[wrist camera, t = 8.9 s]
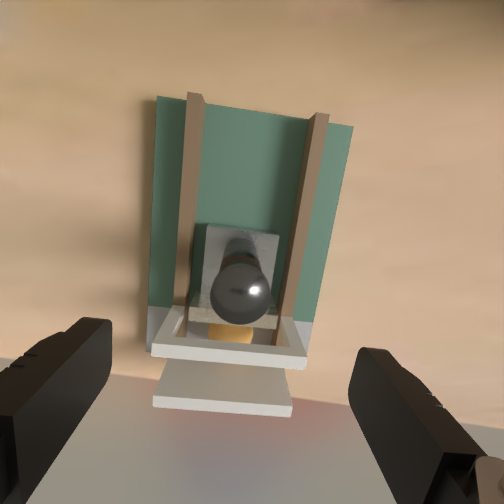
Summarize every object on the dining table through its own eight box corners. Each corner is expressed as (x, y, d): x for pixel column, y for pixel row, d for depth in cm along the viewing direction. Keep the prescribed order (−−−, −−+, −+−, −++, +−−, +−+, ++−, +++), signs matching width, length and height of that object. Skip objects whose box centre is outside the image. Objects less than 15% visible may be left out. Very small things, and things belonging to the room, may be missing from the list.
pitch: (162, 101, 23) (108, 45, 13) (346, 130, 24) (413, 96, 15) (150, 343, 28) (107, 421, 19) (301, 357, 29) (328, 436, 20)
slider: (203, 222, 23) (175, 252, 13) (282, 232, 24) (312, 268, 14) (196, 299, 25) (167, 376, 15) (270, 306, 26) (289, 386, 16)
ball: (204, 362, 24) (210, 324, 27) (249, 366, 24) (250, 328, 27) (205, 335, 21) (212, 297, 24) (256, 340, 22) (256, 302, 25)
